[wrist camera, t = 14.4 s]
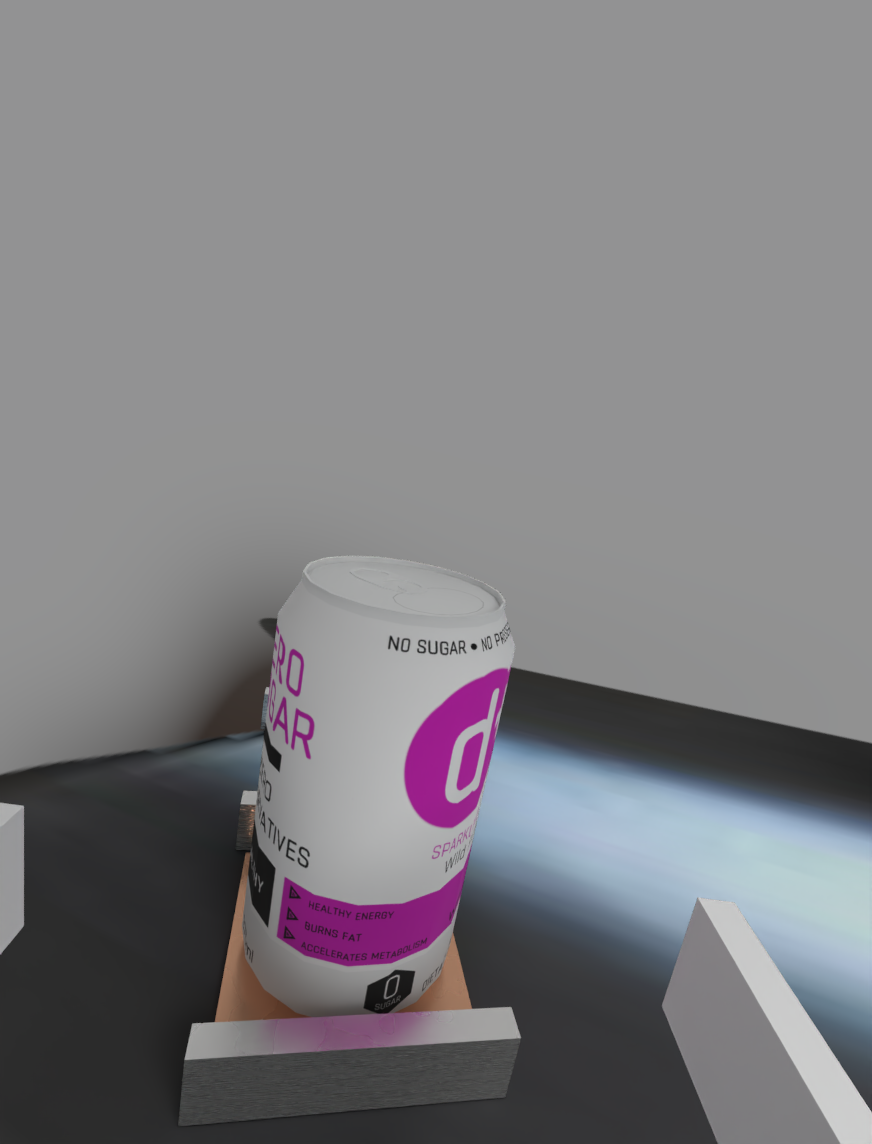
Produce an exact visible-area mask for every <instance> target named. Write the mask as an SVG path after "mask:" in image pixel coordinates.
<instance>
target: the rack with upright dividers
mask: <svg viewBox="0 0 872 1144" xmlns="http://www.w3.org/2000/svg"><path fill="white" fill-rule="evenodd" d="M269 688H270V687H266V690H265V697H264V704H263V713H262V722H261V729H265V723H266V714H267V706H268V697H269ZM257 792H258V791H243V795H242V800H241V805H240V814H239V823H238V832H237V841H236V850H251V843H252V835H253V826H254V818H255V809H256V800H257ZM249 861H250V853H246V854H245V860H244V865H243V871H242V876H241V882H240V887H239V892H238V898H237V903H236V909H235V914H234V920H233V925H232V931H231V936H230V942H229V947H228V953H227V958H226V964H225V969H224V974H223V980H222V985H221V991H220V996H219V1002H218V1007H217V1013H216V1018H215V1022H212V1023H193V1024H192V1028H191V1032H190V1037H189V1042H188V1046H187V1051H186V1055H185V1060H184V1070H183V1081H182V1091H181V1102H180V1112H179V1123H178V1126H188V1125H199V1124H210V1123H222V1122H233V1121H244V1120H255V1119H267V1118H278V1117H289V1116H300V1115H312V1114H323V1113H334V1112H345V1111H357V1110H368V1109H379V1108H390V1107H401V1106H413V1105H424V1104H435V1103H446V1102H458V1101H469V1100H480V1099H491V1098H503V1097H505V1096H506V1092H507V1089H508V1085H509V1081H510V1077H511V1074H512V1070H513V1066H514V1062H515V1059H516V1055H517V1051H518V1047H519V1044H520V1040H521V1037H520V1034H519V1030H518V1027H517V1024H516V1021H515V1018H514V1015H513V1011H512V1008H511V1007H503V1008H483V1009H472V1007H471V1003H470V999H469V995H468V991H467V987H466V983H465V979H464V975H463V971H462V967H461V963H460V959H459V955H458V951H457V947H456V943H455V939H454V935H453V933H452V938H451V942H450V946H449V949H448V952H447V955H446V958H445V961H444V964H443V967H442V970H441V973H440V976H439V977H438V978H437V979H436V980H435V982H434V983H433V984H432V985H431V986H430V987H429V988H428V989H427V990H426V992H425V993H424V994H423V995H422V996H421V997H420V998H419V999H418V1001H417V1002H415V1003H413V1004H411V1005H409V1006H407V1007H405V1008H403V1009H401V1010H399V1011H397V1012H395V1013H387V1014H367V1015H348V1016H328V1017H310V1016H306V1015H302V1014H299V1013H296V1012H294V1011H293V1010H292V1009H290V1008H289V1007H288V1006H286V1005H285V1004H283V1003H282V1002H281V1001H279V1000H278V999H277V998H275V997H274V996H272V995H271V994H270V993H268V992H267V991H266V990H264V989H263V987H262V985H261V984H260V982H259V980H258V978H257V977H256V975H255V973H254V972H253V970H252V968H251V967H250V965H249V963H248V962H247V960H246V958H245V950H244V940H243V931H242V921H243V912H244V904H245V895H246V886H247V878H248V869H249Z"/></svg>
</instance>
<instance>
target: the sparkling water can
mask: <svg viewBox="0 0 872 1144" xmlns="http://www.w3.org/2000/svg"><path fill="white" fill-rule="evenodd" d="M505 605H506V601H505V600H504V598H503V596H502V594H501V593H500V592H499V591H497V590H496V589H494V588H493V587H491V586H489V585H488V584H486V583H485V582H482V581H479V580H477V579H475V578H472V577H470V576H467V575H464V574H462V573H459V572H455V571H452V570H448V569H444V568H441V567H438V566H433V565H428V564H423V563H418V562H413V561H408V560H401V559H393V558H385V557H376V556H338V557H326V558H323V559H319V560H316V561H313V562H310V563H308V565H307V566H306V567H305V569H304V570H303V575H302V580H301V581H300V583H299V584H298V586H297V587H296V589H295V590H294V591H293V593H292V594H291V595H290V597H289V598H288V600H287V601H286V602H285V604H284V605H283V607H282V608H281V610H280V611H279V612H278V619H277V628H276V637H275V646H274V654H273V663H272V672H271V681H270V688H269V697H268V706H267V714H266V723H265V731H264V740H263V749H262V757H261V766H260V774H259V783H258V792H257V800H256V809H255V818H254V826H253V835H252V843H251V852H250V861H249V869H248V878H247V886H246V895H245V904H244V912H243V921H242V931H243V940H244V950H245V958H246V960H247V962H248V963H249V965H250V967H251V968H252V970H253V972H254V973H255V975H256V977H257V978H258V980H259V982H260V984H261V985H262V987H263V989H264V990H266V991H267V992H268V993H270V994H271V995H272V996H274V997H275V998H277V999H278V1000H279V1001H281V1002H282V1003H283V1004H285V1005H286V1006H288V1007H289V1008H290V1009H292V1010H293V1011H294V1012H296V1013H299V1014H302V1015H306V1016H310V1017H328V1016H348V1015H367V1014H387V1013H395V1012H397V1011H399V1010H401V1009H403V1008H405V1007H407V1006H409V1005H411V1004H413V1003H415V1002H417V1001H418V999H419V998H420V997H421V996H422V995H423V994H424V993H425V992H426V990H427V989H428V988H429V987H430V986H431V985H432V984H433V983H434V982H435V980H436V979H437V978H438V977H439V976H440V973H441V970H442V967H443V964H444V961H445V958H446V955H447V952H448V949H449V946H450V942H451V938H452V933H453V928H454V924H455V919H456V915H457V910H458V906H459V901H460V897H461V892H462V888H463V883H464V878H465V874H466V869H467V865H468V860H469V856H470V851H471V847H472V842H473V837H474V833H475V828H476V824H477V819H478V815H479V810H480V806H481V801H482V797H483V792H484V787H485V783H486V778H487V774H488V769H489V765H490V760H491V756H492V751H493V746H494V742H495V737H496V733H497V728H498V724H499V719H500V715H501V710H502V706H503V701H504V696H505V692H506V687H507V683H508V678H509V674H510V669H511V664H512V660H513V655H514V651H515V645H514V642H513V638H512V635H511V631H510V628H509V625H508V621H507V618H506V615H505V611H504V610H505Z"/></svg>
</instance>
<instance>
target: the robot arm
mask: <svg viewBox="0 0 872 1144" xmlns="http://www.w3.org/2000/svg"><path fill="white" fill-rule="evenodd" d="M23 926H24V806H20V805H13V804H5V803H0V954H1V953H2V952H3V951H4V949H5V948H6V947H7V946H8V945H9V943H10V942H11V941H12V940H13V938H14V937H15V936H16V935H17V934H18V932H19V931H20V930H21V929H22V928H23ZM662 1007H663V1010H664V1012H665V1015H666V1017H667V1020H668V1022H669V1025H670V1027H671V1030H672V1032H673V1034H674V1037H675V1039H676V1042H677V1044H678V1047H679V1049H680V1052H681V1054H682V1057H683V1059H684V1061H685V1064H686V1066H687V1069H688V1071H689V1074H690V1076H691V1079H692V1081H693V1084H694V1086H695V1088H696V1091H697V1093H698V1096H699V1098H700V1101H701V1103H702V1106H703V1108H704V1111H705V1113H706V1115H707V1118H708V1120H709V1123H710V1125H711V1128H712V1130H713V1133H714V1135H715V1138H716V1140H717V1142H718V1144H872V1112H871V1111H870V1109H869V1108H868V1106H867V1105H866V1103H865V1102H864V1100H863V1099H862V1097H861V1095H860V1094H859V1092H858V1091H857V1089H856V1088H855V1086H854V1085H853V1083H852V1082H851V1080H850V1079H849V1077H848V1076H847V1074H846V1073H845V1071H844V1069H843V1068H842V1066H841V1065H840V1063H839V1062H838V1060H837V1059H836V1057H835V1056H834V1054H833V1053H832V1051H831V1050H830V1048H829V1046H828V1045H827V1043H826V1042H825V1040H824V1039H823V1037H822V1036H821V1034H820V1033H819V1031H818V1030H817V1028H816V1027H815V1025H814V1023H813V1022H812V1020H811V1019H810V1017H809V1016H808V1014H807V1013H806V1011H805V1010H804V1008H803V1007H802V1005H801V1004H800V1002H799V1001H798V999H797V997H796V996H795V994H794V993H793V991H792V990H791V988H790V987H789V985H788V984H787V982H786V981H785V979H784V978H783V976H782V974H781V973H780V971H779V970H778V968H777V967H776V965H775V964H774V962H773V961H772V959H771V958H770V956H769V955H768V953H767V952H766V950H765V948H764V947H763V945H762V944H761V942H760V941H759V939H758V938H757V936H756V935H755V933H754V932H753V930H752V929H751V927H750V925H749V924H748V922H747V921H746V919H745V918H744V916H743V915H742V913H741V912H740V910H739V909H738V907H737V906H736V904H735V903H734V902H727V901H720V900H712V899H705V898H697V901H696V904H695V907H694V910H693V913H692V916H691V919H690V922H689V925H688V928H687V931H686V934H685V937H684V940H683V943H682V946H681V949H680V952H679V955H678V958H677V962H676V965H675V968H674V971H673V974H672V977H671V980H670V983H669V986H668V989H667V992H666V995H665V998H664V1001H663V1004H662Z"/></svg>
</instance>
